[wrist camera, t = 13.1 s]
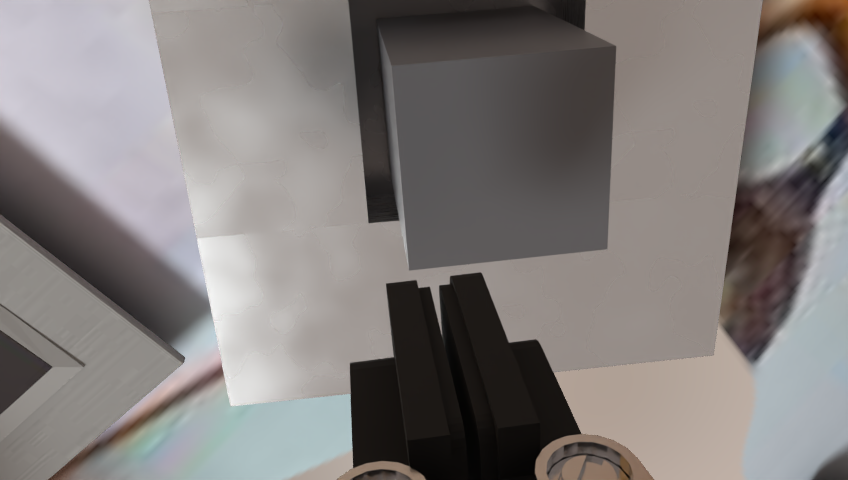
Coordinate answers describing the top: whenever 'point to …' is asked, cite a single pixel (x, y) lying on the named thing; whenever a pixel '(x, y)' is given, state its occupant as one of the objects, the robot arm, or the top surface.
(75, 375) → the electrical outlet
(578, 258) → the socket plate
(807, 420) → the top surface
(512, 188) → the block
